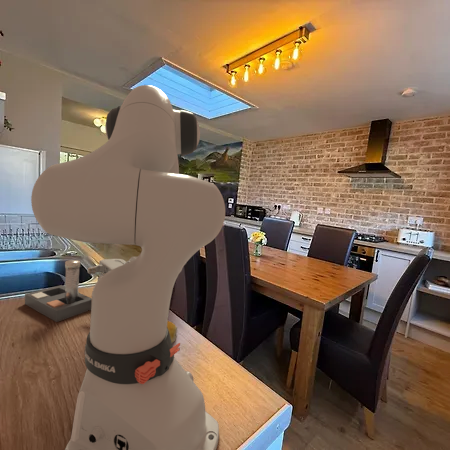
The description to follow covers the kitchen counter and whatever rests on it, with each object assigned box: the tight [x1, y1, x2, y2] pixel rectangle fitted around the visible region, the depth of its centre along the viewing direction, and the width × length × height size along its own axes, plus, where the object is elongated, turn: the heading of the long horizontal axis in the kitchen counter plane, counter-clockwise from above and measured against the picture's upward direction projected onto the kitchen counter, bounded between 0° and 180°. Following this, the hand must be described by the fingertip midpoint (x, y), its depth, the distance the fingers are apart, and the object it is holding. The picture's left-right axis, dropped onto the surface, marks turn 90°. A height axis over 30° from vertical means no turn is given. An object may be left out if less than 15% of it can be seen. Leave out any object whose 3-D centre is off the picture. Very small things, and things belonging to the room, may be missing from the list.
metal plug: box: [64, 259, 81, 305], centre depth 72 cm, size 4×4×14 cm
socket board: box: [24, 284, 92, 323], centre depth 74 cm, size 16×10×3 cm, turn 61°
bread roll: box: [167, 320, 178, 344], centre depth 64 cm, size 8×9×4 cm
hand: (93, 275), depth 76 cm, fingers open, 8 cm apart
